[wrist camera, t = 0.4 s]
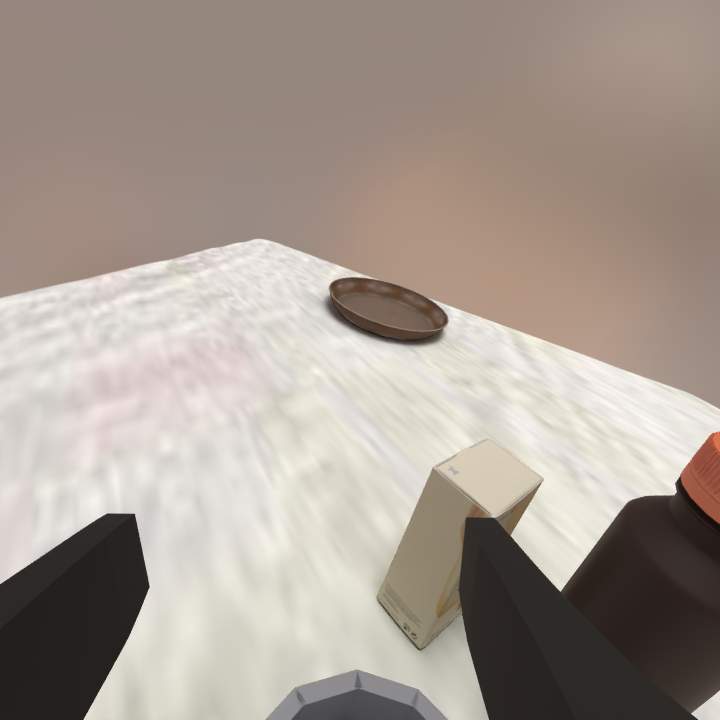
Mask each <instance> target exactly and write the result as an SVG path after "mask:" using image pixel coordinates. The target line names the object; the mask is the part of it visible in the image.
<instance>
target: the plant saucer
mask: <svg viewBox="0 0 720 720" xmlns="http://www.w3.org/2000/svg"><path fill="white" fill-rule="evenodd" d="M329 291H330V295H331V298H332V300H333V302H334V304H335V306H336V307H337V309H338V310H339V311H340V313H341V314H342V315H343V316H344V317H345V318H346V319H348V320H349V321H350V322H352V323H353V324H355V325H357V326H358V327H360V328H362V329H364V330H367V331H369V332H372V333H375V334H378V335H381V336H385V337H389V338H394V339H400V340H418V339H423V338H426V337H429V336H432V335H434V334H436V333H438V332H439V331H441V330H442V329H443V328H445V327H446V326H447V324H448V316H447V314H446V313H445V312H444V310H443V309H442V308H440V307H439V306H438V305H437V304H436V303H434V302H433V301H431V300H430V299H428V298H426V297H424V296H422V295H421V294H418V293H416V292H414V291H412V290H409V289H406V288H404V287H401V286H398V285H395V284H392V283H388V282H384V281H380V280H374V279H368V278H356V277H355V278H354V277H350V278H342V279H338V280H335V281H333V282H332V283H331V284H330V286H329Z"/></svg>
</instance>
